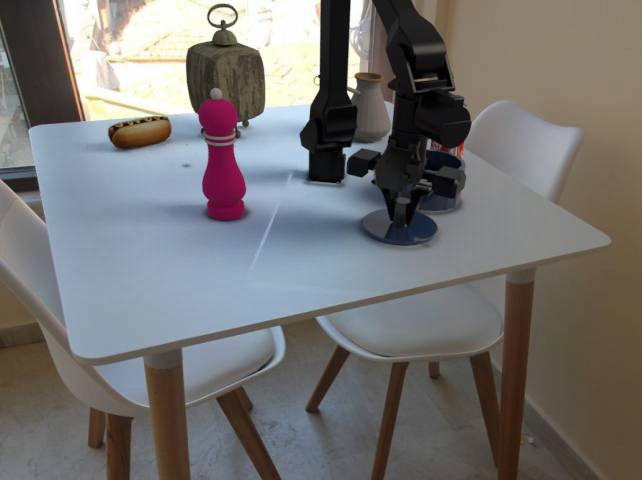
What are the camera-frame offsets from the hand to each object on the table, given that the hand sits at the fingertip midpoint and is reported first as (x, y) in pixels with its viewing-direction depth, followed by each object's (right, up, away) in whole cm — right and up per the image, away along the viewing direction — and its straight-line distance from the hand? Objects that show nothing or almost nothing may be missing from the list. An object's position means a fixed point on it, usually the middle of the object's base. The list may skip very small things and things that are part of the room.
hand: (400, 222), depth 103 cm
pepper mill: (-30, +2, +2) cm, 30 cm away
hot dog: (-52, +22, +24) cm, 61 cm away
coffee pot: (-9, +27, +34) cm, 45 cm away
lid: (0, -1, +1) cm, 1 cm away
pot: (+6, +7, +12) cm, 15 cm away
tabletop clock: (-36, +28, +32) cm, 55 cm away
